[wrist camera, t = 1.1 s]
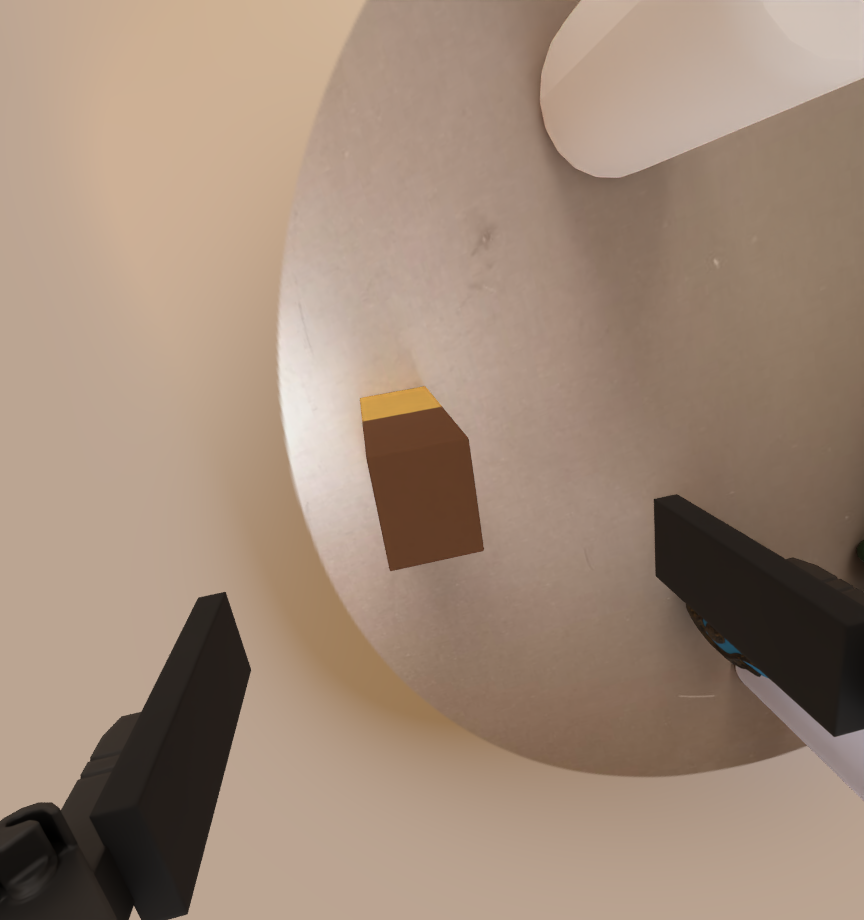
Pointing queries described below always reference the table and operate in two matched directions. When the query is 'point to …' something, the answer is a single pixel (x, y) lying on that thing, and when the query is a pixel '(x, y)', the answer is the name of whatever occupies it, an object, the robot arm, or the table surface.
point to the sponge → (420, 478)
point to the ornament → (723, 644)
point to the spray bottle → (813, 732)
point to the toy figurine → (861, 550)
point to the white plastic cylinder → (687, 73)
